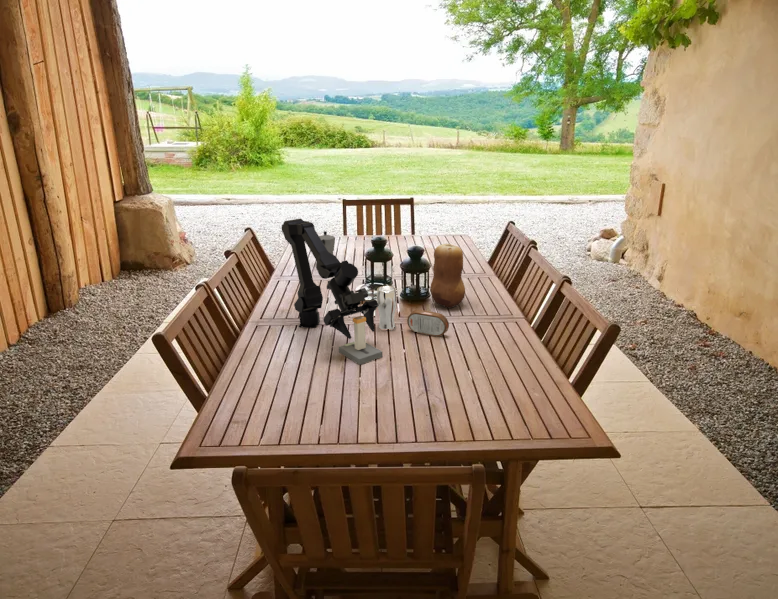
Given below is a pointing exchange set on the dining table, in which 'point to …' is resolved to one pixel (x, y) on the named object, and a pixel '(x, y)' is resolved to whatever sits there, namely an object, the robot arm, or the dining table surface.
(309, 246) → the robot arm
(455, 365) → the dining table surface
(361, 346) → the lever
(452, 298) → the butternut squash
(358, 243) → the dining table surface
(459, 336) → the dining table surface
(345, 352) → the switch plate
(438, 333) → the tin
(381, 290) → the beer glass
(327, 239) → the coffeepot
